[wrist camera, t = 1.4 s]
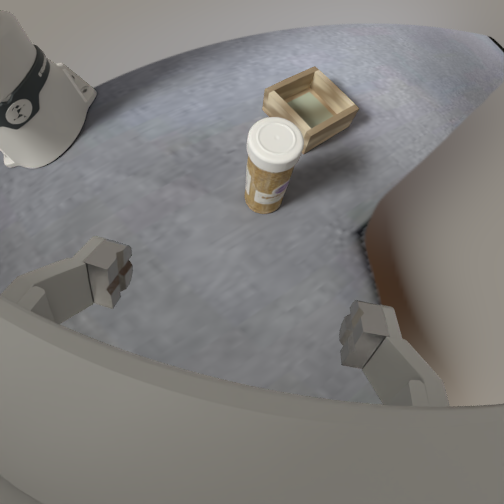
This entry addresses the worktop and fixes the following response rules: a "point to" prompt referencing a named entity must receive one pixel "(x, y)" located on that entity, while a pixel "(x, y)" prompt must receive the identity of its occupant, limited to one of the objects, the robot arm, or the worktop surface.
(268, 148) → the sprinkles bottle
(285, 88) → the box
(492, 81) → the worktop surface
